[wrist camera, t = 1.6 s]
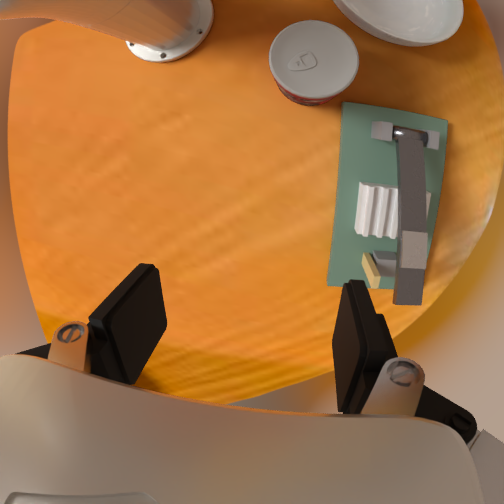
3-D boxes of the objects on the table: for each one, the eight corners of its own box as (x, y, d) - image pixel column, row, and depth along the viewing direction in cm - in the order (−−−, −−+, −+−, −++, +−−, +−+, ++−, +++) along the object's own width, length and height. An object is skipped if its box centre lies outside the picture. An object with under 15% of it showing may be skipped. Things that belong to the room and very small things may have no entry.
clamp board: (341, 102, 31) (354, 96, 24) (442, 120, 30) (474, 122, 23) (326, 280, 41) (331, 313, 34) (415, 285, 40) (434, 315, 32)
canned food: (262, 75, 31) (249, 55, 22) (310, 36, 28) (315, 4, 19) (306, 119, 33) (311, 116, 23) (354, 80, 30) (377, 64, 20)
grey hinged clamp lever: (389, 128, 28) (394, 122, 27) (420, 134, 28) (426, 128, 26) (387, 302, 28) (392, 305, 26) (420, 303, 28) (427, 306, 26)
